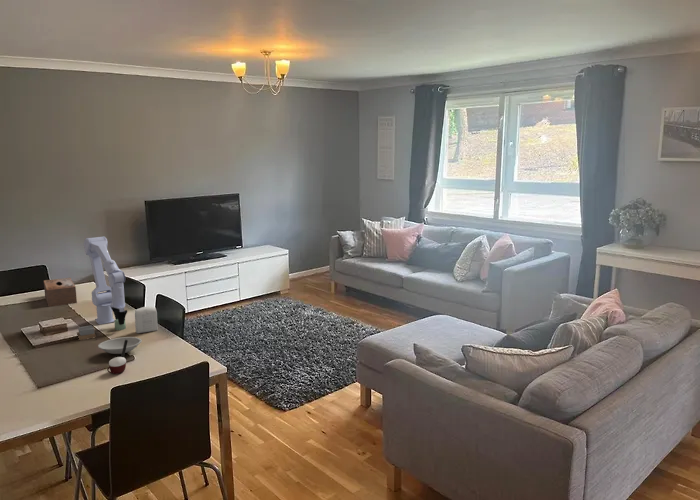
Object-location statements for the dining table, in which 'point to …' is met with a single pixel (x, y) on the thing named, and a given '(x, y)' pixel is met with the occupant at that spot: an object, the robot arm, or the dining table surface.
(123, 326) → the pale green block
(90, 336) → the walnut base block
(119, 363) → the cocoa
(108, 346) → the dish
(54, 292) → the tissue box cover
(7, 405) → the dining table surface
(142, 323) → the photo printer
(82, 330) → the slate top block
